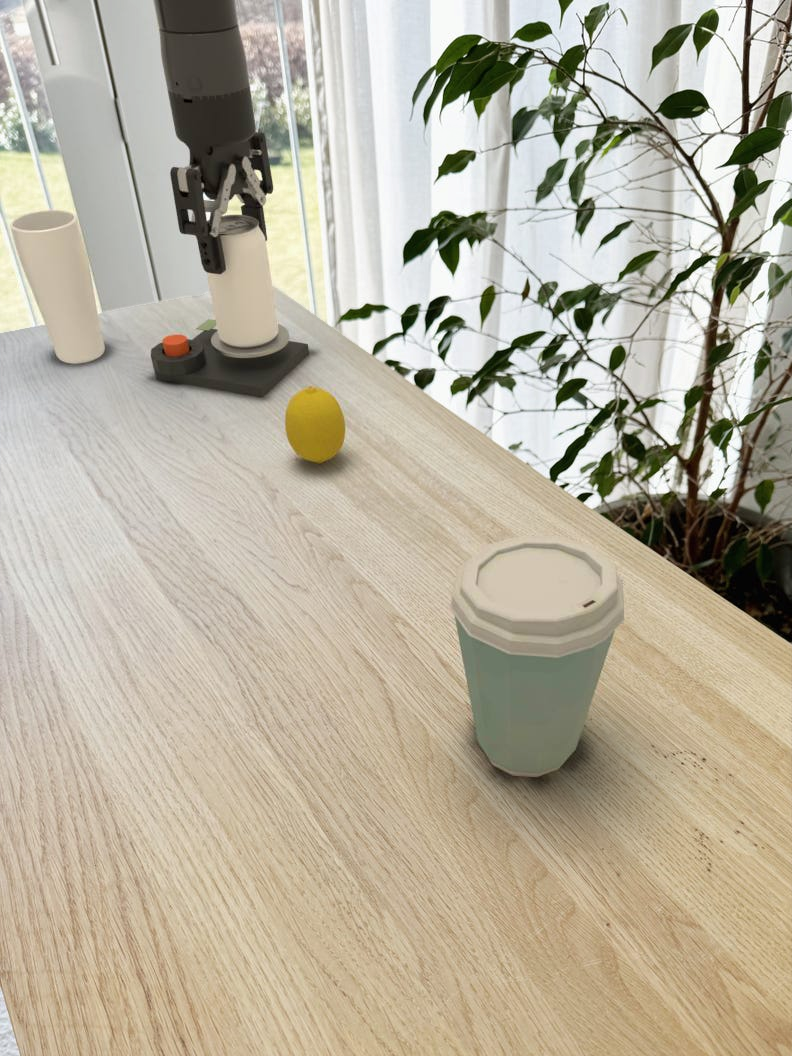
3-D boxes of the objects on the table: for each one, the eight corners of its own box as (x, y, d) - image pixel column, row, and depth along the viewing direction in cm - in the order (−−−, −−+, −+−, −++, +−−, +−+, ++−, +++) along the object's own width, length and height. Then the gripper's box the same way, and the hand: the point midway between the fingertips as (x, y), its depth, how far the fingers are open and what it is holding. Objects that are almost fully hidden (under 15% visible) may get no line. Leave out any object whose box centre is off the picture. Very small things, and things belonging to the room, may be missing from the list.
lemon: (283, 457, 97) (271, 381, 92) (336, 443, 99) (328, 368, 94) (302, 484, 94) (291, 407, 88) (357, 469, 96) (350, 393, 90)
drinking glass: (38, 365, 112) (-5, 228, 102) (71, 339, 117) (32, 206, 107) (93, 371, 111) (54, 234, 101) (123, 345, 116) (89, 211, 106)
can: (207, 336, 110) (185, 224, 102) (256, 318, 113) (239, 208, 105) (241, 355, 106) (221, 240, 98) (291, 336, 110) (275, 223, 102)
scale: (146, 382, 109) (140, 356, 107) (203, 338, 117) (199, 313, 115) (258, 402, 106) (254, 376, 104) (309, 355, 114) (306, 330, 112)
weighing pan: (172, 347, 109) (170, 343, 108) (212, 316, 115) (211, 312, 114) (266, 363, 106) (265, 358, 106) (302, 330, 112) (302, 326, 111)
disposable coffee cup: (421, 736, 70) (411, 563, 60) (536, 667, 75) (544, 498, 65) (524, 830, 64) (530, 654, 54) (641, 748, 69) (667, 574, 59)
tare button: (160, 356, 108) (157, 342, 107) (173, 346, 110) (170, 332, 109) (181, 359, 107) (178, 346, 106) (194, 349, 109) (191, 336, 108)
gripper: (212, 62, 99) (239, 229, 110) (128, 97, 89) (167, 278, 100) (280, 68, 97) (301, 238, 108) (202, 104, 87) (233, 288, 98)
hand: (236, 257), depth 104 cm, fingers open, 8 cm apart
